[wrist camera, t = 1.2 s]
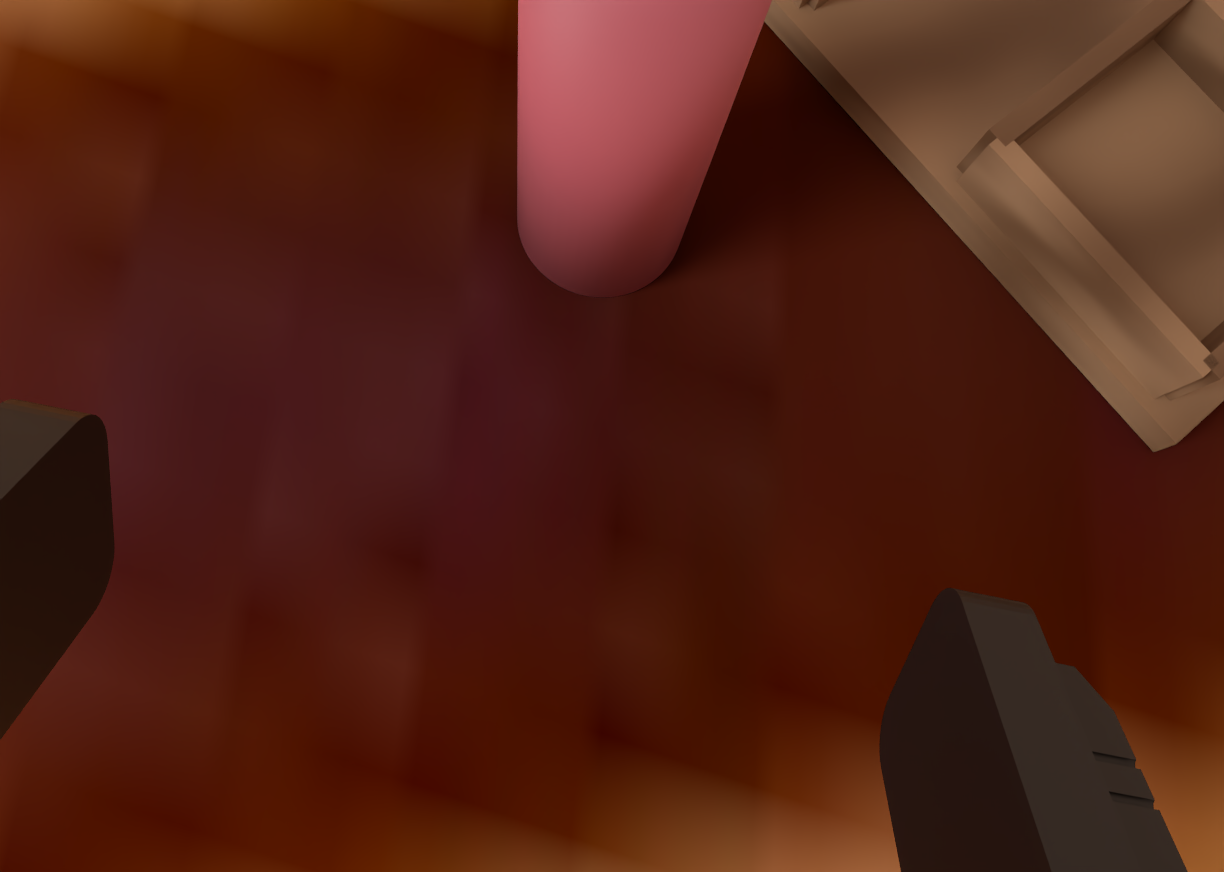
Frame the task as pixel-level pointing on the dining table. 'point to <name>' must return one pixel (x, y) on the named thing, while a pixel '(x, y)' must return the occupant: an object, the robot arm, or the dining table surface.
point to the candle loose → (621, 129)
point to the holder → (1060, 167)
